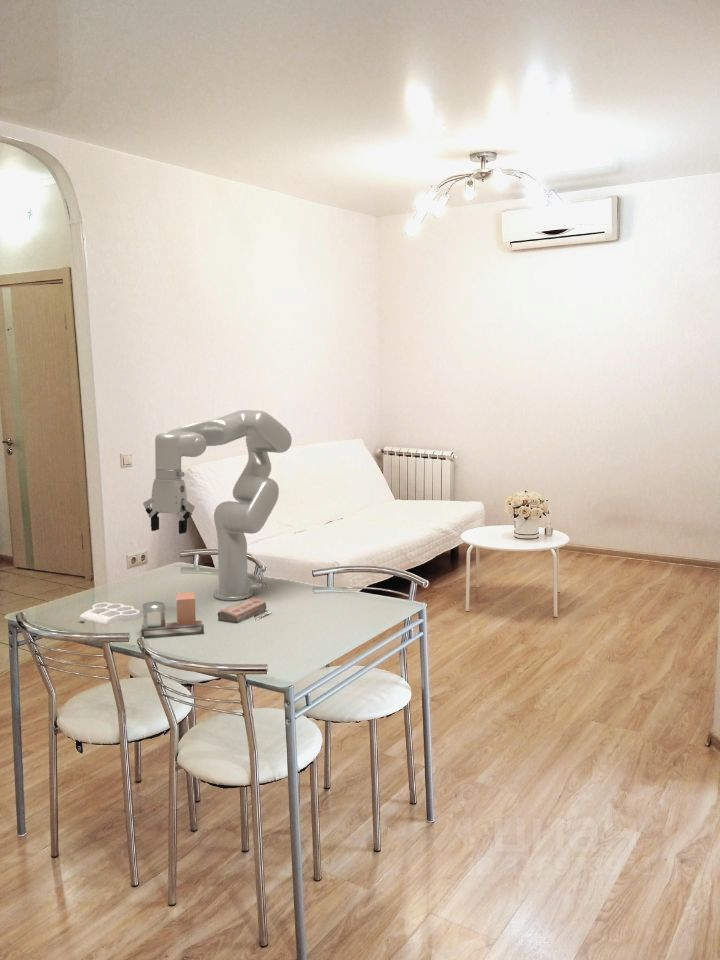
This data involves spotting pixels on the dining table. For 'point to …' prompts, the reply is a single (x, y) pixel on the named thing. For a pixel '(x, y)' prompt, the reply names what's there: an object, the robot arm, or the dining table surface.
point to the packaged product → (243, 611)
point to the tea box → (185, 609)
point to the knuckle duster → (109, 613)
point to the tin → (153, 614)
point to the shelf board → (173, 630)
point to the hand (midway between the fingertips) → (168, 531)
